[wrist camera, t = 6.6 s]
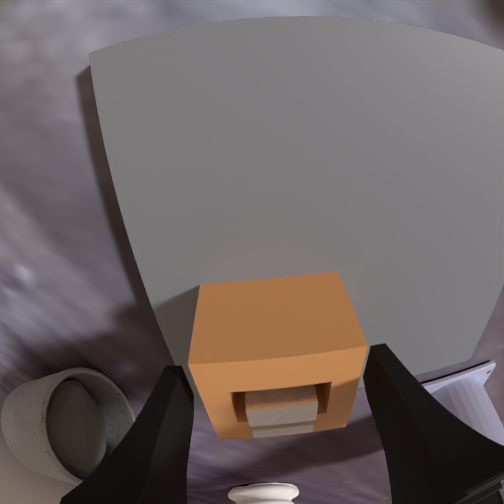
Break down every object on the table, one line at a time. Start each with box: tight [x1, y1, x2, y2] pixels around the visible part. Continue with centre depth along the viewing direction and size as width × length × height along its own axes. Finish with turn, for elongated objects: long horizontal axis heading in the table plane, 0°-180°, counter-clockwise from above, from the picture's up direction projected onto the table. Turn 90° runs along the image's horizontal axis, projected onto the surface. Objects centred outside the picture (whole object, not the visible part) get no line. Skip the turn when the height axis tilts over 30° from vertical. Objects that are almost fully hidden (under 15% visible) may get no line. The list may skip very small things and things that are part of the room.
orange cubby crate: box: [188, 271, 368, 440], centre depth 12 cm, size 5×5×4 cm
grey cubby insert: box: [245, 384, 318, 427], centre depth 12 cm, size 1×2×4 cm, turn 95°
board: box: [89, 16, 504, 405], centre depth 13 cm, size 18×18×1 cm
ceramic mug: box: [0, 367, 136, 486], centre depth 16 cm, size 11×8×8 cm
